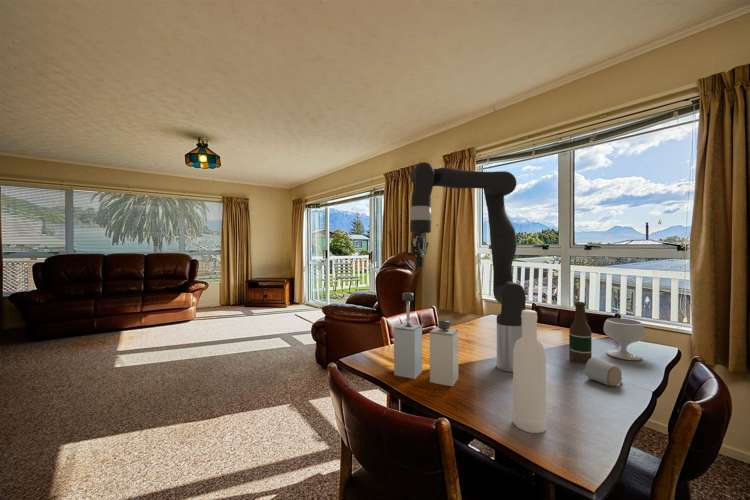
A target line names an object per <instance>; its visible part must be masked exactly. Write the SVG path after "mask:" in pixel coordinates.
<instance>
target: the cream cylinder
mask: <svg viewBox="0 0 750 500" xmlns="http://www.w3.org/2000/svg"><path fill="white" fill-rule="evenodd" d="M584 372H585V373H584V374H585V375H586V377H587V378H588V379H591V380H592V381H596V382H598V383H600V384H604V385H605V386H609V387H616V386H618V385H619V384H620V383H622V380H623V377H622V375H623V374H622V371H621V368H619V367H618V365H615V364H613V363H610V362H608V361H606V360H603V359H601V358H598V357H595V356H592V357H591V358H590V359H589V360H588V362H587V363H586V364H585V367H584Z"/></svg>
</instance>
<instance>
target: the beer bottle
mask: <svg viewBox="0 0 750 500" xmlns="http://www.w3.org/2000/svg"><path fill="white" fill-rule="evenodd" d="M574 305H575V311H574V312H575V313H574V320H573V322H572V323H571V325H570V326H569V333H568V335H569V336H568V337H569V338H568V339H569V340H568V343H569V344H568V345H569V346H568V347H569V349H568V352H569V353H568V354H569V355H568V357H569V360H570V361H571V362H573V363H576V364H580V365H586V363H587V362H588V360H589V359H590V358H592V357H593V356H592V353H593V351H592V350H593V349H592V341H593V339H592V336H593V335H592V330H591V327H590V325H589V324H588V322H587V318H586V302H583V301H576V302H575V303H574Z"/></svg>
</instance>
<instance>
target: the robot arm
mask: <svg viewBox="0 0 750 500" xmlns="http://www.w3.org/2000/svg"><path fill="white" fill-rule="evenodd" d="M409 178H410V181H411V182H412V183H413V185H414V190H413V192H412V193H411V206H410V216H409V217H410V219H409V220H410V221H409V231H410V233H412V234H413V233H414V235H413V239H412V240H411V242H410V244H411V249H412V253H413V255H414V256H415V267H416V268H423V267H424V258H425V256H426V254H427V250H428V247H429V242H428V239H427V234H430V233H431V232H432V208H431V207H432V191H433V188H434V187H441V188H450V189H483V194H484V199H485V203H486V210H487V217H488V227H489V241H490V249H491V261H492V271H493V272H492V273H493V277H492V279H493V280H492V292H493V293H492V294H493V297H494V299H495V300H496V302H498V303H500V304H501V309H500V313H499V314H497V315H496V368H497V369H499V370H500V371H504V372H507V373H513V348H514V345H515V343H516V341H517V340H518V339H519V338H521V337H522V318H521V314H522V311H523V310H526V301H527V300H526V299H527V297H526V291H525V289H524V287H523V285H521V284H520V283H517V282H514V281H513V274H512V273H513V271H512V267H513V262H514V259H515V256H516V252H517V235H516V230H515V227H514V225H513V222H512V220H511V219H510V217H509V215H508V213H507V211H506V207H505V197H506V196H508V195H510V194H511V193H512V192H514V191H515V189H516V188H517V185H518V183H517V178H516V177H515V175H514V174H513V173H512V172H510V171H506V170H500V171H477V170H468V169H467V170H466V169H458V168H454V167H453V168H451V167H445V166H444V167H438V168H434V167H433V166H432V164H431V163H429V162H425V161H424V162H421V163H419V164H417V165H416V166H414V168H412V169H411V171H410V174H409Z"/></svg>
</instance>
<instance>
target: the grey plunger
mask: <svg viewBox="0 0 750 500" xmlns="http://www.w3.org/2000/svg"><path fill="white" fill-rule="evenodd" d="M402 301H406V305H405V306H406V307H405V308H406V312H405V313H406V323H407V327H410V324H411V323H410V322H411V320H410V317H411V315H410V313H411V311H410V310H411V307H410V306H411V305H410V303H411V302H412V301H414V293H413V292H402Z"/></svg>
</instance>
